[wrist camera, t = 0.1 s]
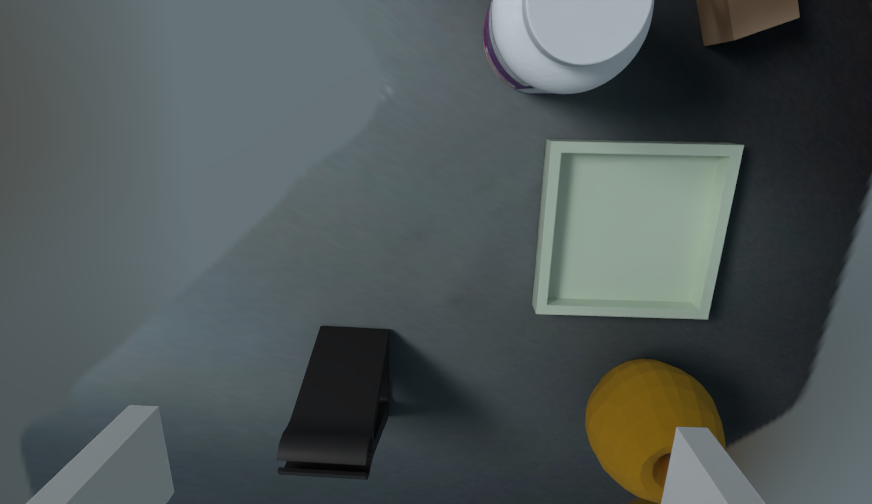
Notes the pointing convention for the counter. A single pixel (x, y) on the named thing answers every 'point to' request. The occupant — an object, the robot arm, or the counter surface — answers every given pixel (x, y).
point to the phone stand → (339, 406)
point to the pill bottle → (563, 42)
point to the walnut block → (742, 17)
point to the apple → (645, 421)
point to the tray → (632, 226)
